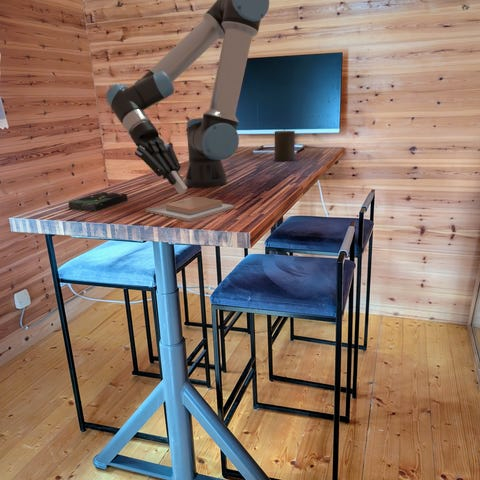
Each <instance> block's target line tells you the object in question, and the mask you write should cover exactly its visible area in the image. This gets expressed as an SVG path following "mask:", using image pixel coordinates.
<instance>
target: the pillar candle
mask: <svg viewBox="0 0 480 480" xmlns="http://www.w3.org/2000/svg"><path fill="white" fill-rule="evenodd" d="M295 137H296V132H295V130H285V128H284V129H283V130H275V131H274V161H275V162H292V161H295V155H296V154H295V147H296V145H295V143H296V141H295V139H296V138H295Z"/></svg>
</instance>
